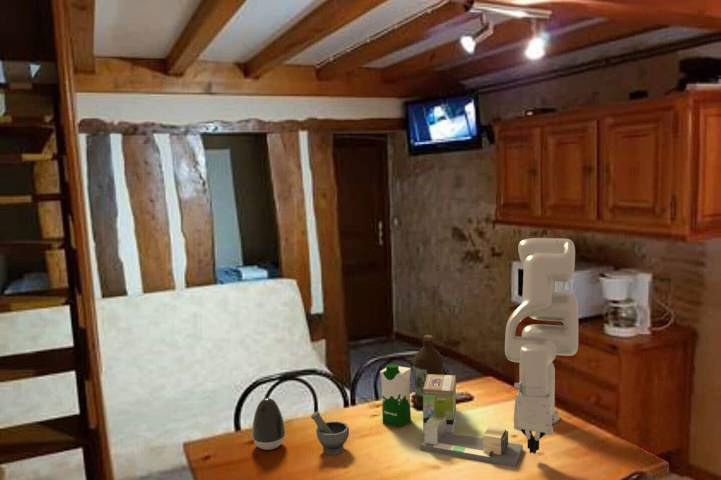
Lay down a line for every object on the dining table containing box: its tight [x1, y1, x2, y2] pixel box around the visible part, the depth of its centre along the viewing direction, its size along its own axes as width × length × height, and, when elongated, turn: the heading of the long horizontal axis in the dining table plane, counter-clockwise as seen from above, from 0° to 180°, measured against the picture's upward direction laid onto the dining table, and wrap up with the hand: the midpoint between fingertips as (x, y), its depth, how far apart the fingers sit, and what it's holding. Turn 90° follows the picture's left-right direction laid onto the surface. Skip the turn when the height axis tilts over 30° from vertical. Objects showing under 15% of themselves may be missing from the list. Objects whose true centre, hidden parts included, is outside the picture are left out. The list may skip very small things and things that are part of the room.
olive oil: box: [412, 334, 444, 407], centre depth 210 cm, size 11×11×25 cm
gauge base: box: [420, 432, 524, 468], centre depth 176 cm, size 11×28×2 cm, turn 65°
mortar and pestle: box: [310, 411, 350, 455], centre depth 178 cm, size 11×9×12 cm
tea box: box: [422, 374, 457, 434], centre depth 193 cm, size 15×10×15 cm, turn 168°
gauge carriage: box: [482, 425, 509, 457], centre depth 171 cm, size 10×6×5 cm, turn 155°
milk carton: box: [379, 363, 412, 429], centre depth 196 cm, size 9×9×20 cm
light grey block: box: [423, 414, 447, 446], centre depth 180 cm, size 9×4×6 cm, turn 155°
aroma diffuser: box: [251, 397, 286, 451], centre depth 182 cm, size 10×10×15 cm
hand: (533, 451), depth 168 cm, fingers closed
